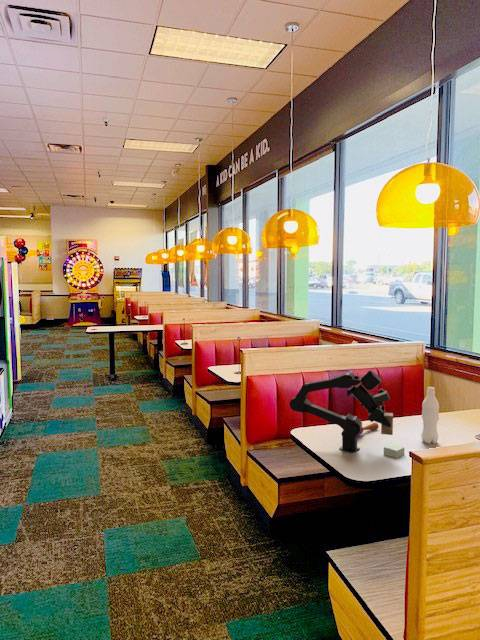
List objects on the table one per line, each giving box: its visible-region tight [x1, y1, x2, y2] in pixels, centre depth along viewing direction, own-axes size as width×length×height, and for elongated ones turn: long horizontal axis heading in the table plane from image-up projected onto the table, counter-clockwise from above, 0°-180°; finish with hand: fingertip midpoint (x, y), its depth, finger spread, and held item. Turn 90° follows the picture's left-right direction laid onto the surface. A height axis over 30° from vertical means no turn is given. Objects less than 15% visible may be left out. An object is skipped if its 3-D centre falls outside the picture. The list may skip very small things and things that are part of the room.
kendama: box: [356, 422, 380, 438], centre depth 230 cm, size 6×6×20 cm
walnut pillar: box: [380, 412, 394, 436], centre depth 203 cm, size 4×4×8 cm
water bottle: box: [420, 386, 440, 445], centre depth 216 cm, size 7×7×25 cm
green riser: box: [383, 443, 405, 459], centre depth 203 cm, size 6×6×3 cm
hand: (390, 424), depth 202 cm, fingers closed on walnut pillar, 4 cm apart
